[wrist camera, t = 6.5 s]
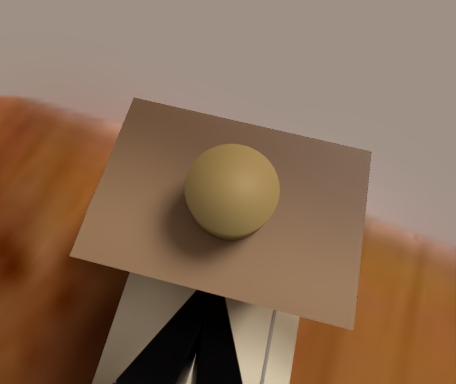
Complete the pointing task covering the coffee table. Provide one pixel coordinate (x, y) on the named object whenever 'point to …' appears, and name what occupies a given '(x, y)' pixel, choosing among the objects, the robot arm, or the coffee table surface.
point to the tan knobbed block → (232, 211)
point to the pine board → (245, 348)
